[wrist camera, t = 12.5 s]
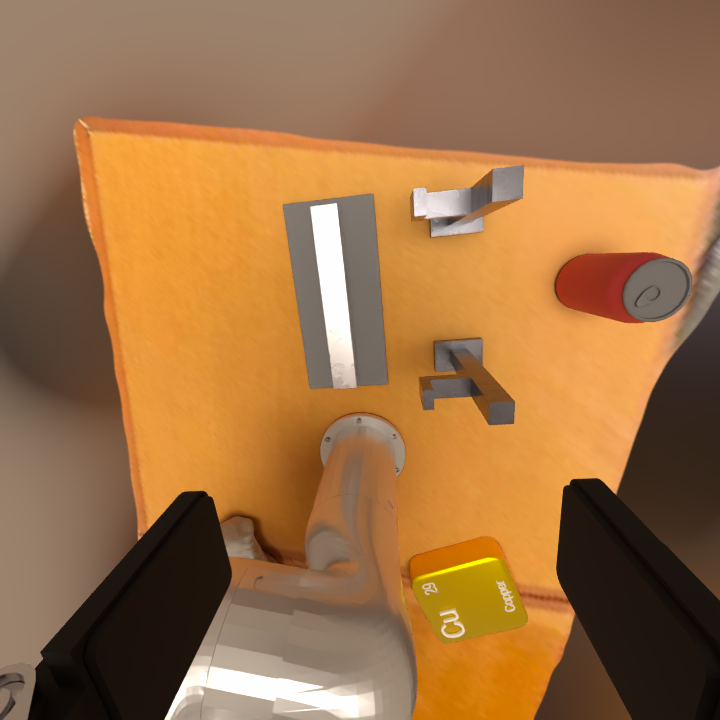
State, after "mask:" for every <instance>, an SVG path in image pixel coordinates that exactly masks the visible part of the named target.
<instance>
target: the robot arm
mask: <svg viewBox="0 0 720 720" xmlns="http://www.w3.org/2000/svg"><path fill="white" fill-rule="evenodd" d="M358 418H360V419H358ZM393 434H395V435H393ZM328 437H330V438H328ZM320 456H321V461H322V464H323V466H324V471H323V475H322V478H321V481H320V485H319V488H318V491H317V495H316V498H315V501H314V505H313V508H312V511H311V515H310V518H309V521H308V525H307V528H306V533H305V542H304V548H305V556H306V561H307V565H308V568H307V569H304V568H298V567H293V566H288V565H282V564H277V563H271V562H266V561H261V560H253V559H248V558H241V557H228V553H227V550H226V546H225V542H224V538H223V534H222V531H221V527H220V523H219V519H218V516H217V512H216V508H215V504H214V501H213V498H212V497H210V496H208V494H207V493H206V492H205V491H188V492H182V493H181V494H180V495H179V496H178V497H177V498H176V499H175V500H174V501H173V503H172V504H171V505H170V506H169V507H168V508H167V509H166V510H165V512H164V513H163V514H162V515H161V516H160V517H159V518H158V520H157V521H156V522H155V523H154V524H153V525H152V526H151V527H150V529H149V530H148V531H147V532H146V533H145V534H144V535H143V537H142V538H141V539H140V540H139V541H138V542H137V544H135V546H134V547H133V548H132V549H131V550H130V551H129V552H128V553H127V555H126V556H125V557H124V558H123V559H122V560H121V561H120V563H119V564H118V565H117V566H116V567H115V568H114V569H113V570H112V572H111V573H110V574H109V575H108V576H107V577H106V578H105V580H104V581H103V582H102V583H101V584H100V585H99V586H98V587H97V589H96V590H95V591H94V592H93V593H92V594H91V595H90V596H89V598H88V599H87V600H86V601H85V602H84V603H83V604H82V606H81V607H80V608H79V609H78V610H77V611H76V612H75V613H74V615H73V616H72V617H71V618H70V619H69V620H68V621H67V623H66V624H65V625H64V626H63V627H62V628H61V629H60V631H59V632H58V633H57V634H56V635H55V636H54V637H53V638H52V639H51V641H50V642H49V643H48V644H47V645H46V646H45V648H44V649H43V650H42V651H41V652H40V653H41V655H42V657H43V658H44V659H43V660H42V661H41V662H40V663H39V665H38V666H37V667H36V668H35V669H34V668H33V667H32V666H31V665H30V664H25V663H18V664H14V665H9V666H6V667H4V668H2V669H0V720H412V717H413V713H414V709H415V704H416V698H417V684H418V675H417V657H416V649H415V643H414V637H413V632H412V627H411V623H410V618H409V614H408V610H407V605H406V601H405V596H404V591H403V586H402V579H401V571H400V560H399V543H398V517H397V492H396V478H397V476H398V475H399V474H400V473H401V471H402V469H403V467H404V463H405V457H406V451H405V445H404V441H403V438H402V436H401V434H400V433H399V431H398V430H397V429H396V428H395V426H393V425H392V424H391V423H390V422H389V421H387V420H385V419H384V418H382V417H379V416H376V415H374V414H368V413H354V414H349V415H346V416H344V417H341V418H339V419H338V420H336V421H335V422H334V423H333V424H331V425H330V426H329V428H328V429H327V430H326V432H325V434H324V436H323V439H322V442H321V445H320ZM556 570H557V576H558V579H559V582H560V585H561V587H562V589H563V590H564V592H565V594H566V596H567V598H568V600H569V602H570V604H571V605H572V607H573V609H574V611H575V613H576V615H577V617H578V619H579V620H580V622H581V624H582V626H583V628H584V630H585V632H586V633H587V635H588V637H589V639H590V641H591V643H592V645H593V647H594V649H595V650H596V652H597V654H598V656H599V658H600V659H601V662H602V664H603V665H604V667H605V669H606V671H607V673H608V675H609V677H610V679H611V680H612V682H613V684H614V686H615V688H616V690H617V692H618V694H619V695H620V697H621V699H622V701H623V703H624V705H625V707H626V709H627V711H628V712H629V714H630V716H631V718H632V720H720V601H719V600H718V598H717V597H716V596H714V594H713V593H712V592H711V591H710V590H709V589H708V588H707V587H706V586H705V585H704V584H703V583H702V582H701V581H700V580H699V579H698V578H697V577H696V576H695V575H694V574H693V573H692V572H691V571H690V570H689V569H688V568H687V567H686V566H685V565H684V564H683V563H682V562H681V561H680V559H679V558H678V557H677V556H676V555H675V554H674V553H673V552H672V551H671V550H670V549H669V548H668V547H667V546H666V545H665V544H663V543H662V542H661V541H660V540H659V539H658V538H657V537H656V536H655V535H654V534H653V533H652V532H651V531H650V530H649V529H648V528H647V527H646V526H645V525H644V524H643V523H642V521H641V520H640V519H638V517H637V516H636V515H635V514H634V513H633V512H632V511H630V509H629V508H628V507H627V506H626V505H625V504H624V503H623V502H622V501H621V500H620V499H619V498H618V497H617V496H616V495H615V494H614V493H613V492H612V491H611V490H610V489H609V487H608V486H607V485H606V484H605V483H604V482H603V481H601V480H600V479H597V478H592V479H573V480H571V482H570V485H566V486H565V487H564V489H563V498H562V509H561V520H560V532H559V543H558V554H557V566H556Z"/></svg>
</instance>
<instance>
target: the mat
mask: <svg viewBox="0 0 720 720" xmlns="http://www.w3.org/2000/svg"><path fill="white" fill-rule="evenodd" d="M336 203H337V205H338V206H339V207H340V210H341V220H342V229H343V238H344V248H345V257H346V267H347V276H348V286H349V295H350V304H351V314H352V323H353V333H354V342H355V351H356V361H357V370H358V384H357V386H366V385H382V384H388V377H387V364H386V351H385V338H384V325H383V312H382V299H381V286H380V273H379V260H378V247H377V234H376V221H375V208H374V195H373V194H366V195H357V196H349V197H341V198H333V199H324V200H316V201H308V202H300V203H291V204H283V209H284V216H285V223H286V230H287V236H288V243H289V250H290V257H291V263H292V270H293V277H294V284H295V290H296V297H297V304H298V311H299V317H300V324H301V331H302V338H303V344H304V351H305V358H306V365H307V371H308V378H309V385H310V389H317V388H334V386H333V379H332V371H331V363H330V355H329V348H328V340H327V332H326V325H325V317H324V309H323V301H322V294H321V286H320V278H319V271H318V263H317V255H316V247H315V240H314V232H313V224H312V216H311V209H310V207H312V206H320V205H328V204H336Z"/></svg>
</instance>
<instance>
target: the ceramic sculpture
mask: <svg viewBox="0 0 720 720" xmlns="http://www.w3.org/2000/svg"><path fill="white" fill-rule="evenodd" d="M220 527H221V531H222V534H223V538H224V542H225V546H226V550H227V553H228V557H241V558H248V559H253V560H261V561H266V562H271V563H277V561H276V560H275V559H274V558H272V557H271V556H270V555H268V554H267V553H266V552H264V551H262V549H261V547H260V545H259V544H258V542H257V541H256V538H255V537H254V524H253V521H252V520H251V519H249V518H244V517H241V516H235V517H233V518H231V519H229V520H226V521H224V522H223V523H221V524H220ZM277 564H278V563H277Z"/></svg>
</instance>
